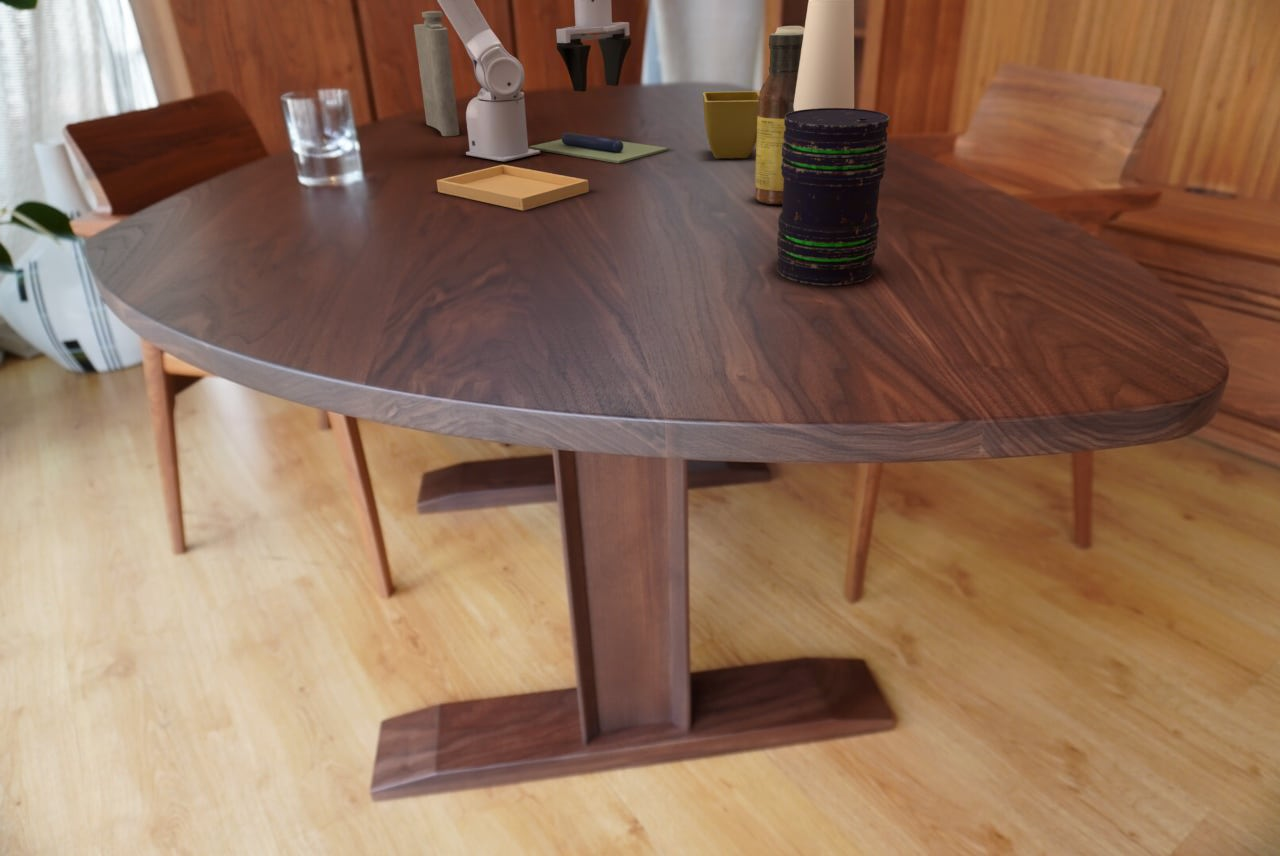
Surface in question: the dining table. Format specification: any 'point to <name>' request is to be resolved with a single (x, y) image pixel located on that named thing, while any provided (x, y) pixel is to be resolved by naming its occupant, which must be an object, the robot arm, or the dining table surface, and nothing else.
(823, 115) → the black cylinder
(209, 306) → the dining table surface
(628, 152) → the mat
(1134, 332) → the dining table surface
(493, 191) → the tray
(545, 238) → the dining table surface
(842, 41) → the cream tapered cone
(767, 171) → the sauce bottle
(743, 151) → the flower pot
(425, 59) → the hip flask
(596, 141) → the pen
